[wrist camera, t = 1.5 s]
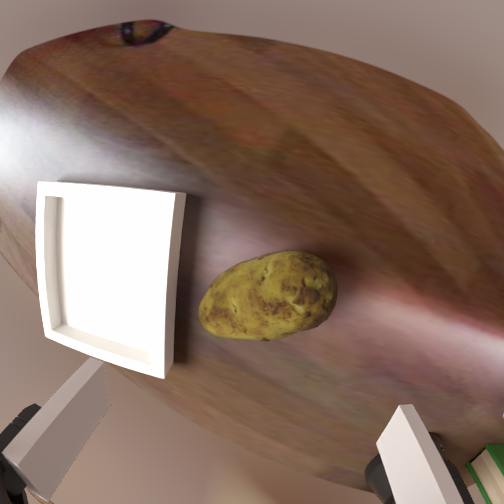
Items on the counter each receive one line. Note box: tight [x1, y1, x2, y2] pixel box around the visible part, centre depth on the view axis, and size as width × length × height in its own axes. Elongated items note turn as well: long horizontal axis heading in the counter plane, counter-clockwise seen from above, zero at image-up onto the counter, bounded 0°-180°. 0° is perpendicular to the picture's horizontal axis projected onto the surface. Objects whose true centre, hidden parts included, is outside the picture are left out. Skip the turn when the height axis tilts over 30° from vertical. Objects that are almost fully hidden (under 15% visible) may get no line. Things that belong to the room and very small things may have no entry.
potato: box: [198, 250, 337, 341], centre depth 25 cm, size 8×13×8 cm, turn 95°
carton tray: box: [36, 181, 186, 379], centre depth 28 cm, size 20×18×4 cm
